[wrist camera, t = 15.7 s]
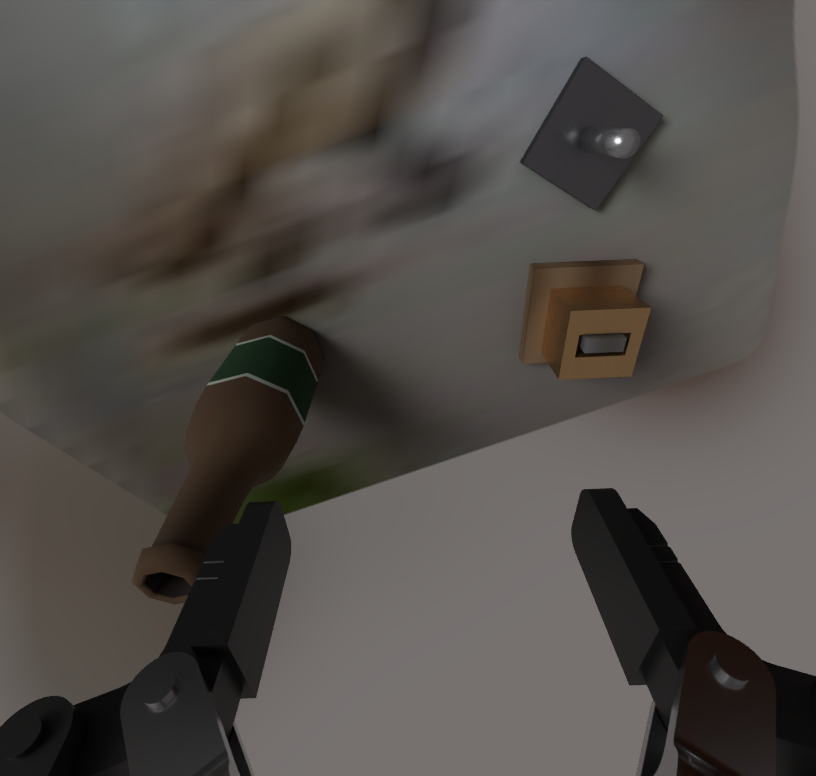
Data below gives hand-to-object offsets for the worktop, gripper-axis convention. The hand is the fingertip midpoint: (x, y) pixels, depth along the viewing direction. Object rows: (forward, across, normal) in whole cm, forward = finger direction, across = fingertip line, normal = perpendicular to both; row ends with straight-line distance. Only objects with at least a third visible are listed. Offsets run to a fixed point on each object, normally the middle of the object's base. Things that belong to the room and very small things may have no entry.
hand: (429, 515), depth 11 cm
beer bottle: (+28, +12, +9) cm, 32 cm away
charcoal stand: (+28, -13, -7) cm, 32 cm away
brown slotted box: (+27, -15, +6) cm, 31 cm away
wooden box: (+28, -15, +6) cm, 32 cm away
